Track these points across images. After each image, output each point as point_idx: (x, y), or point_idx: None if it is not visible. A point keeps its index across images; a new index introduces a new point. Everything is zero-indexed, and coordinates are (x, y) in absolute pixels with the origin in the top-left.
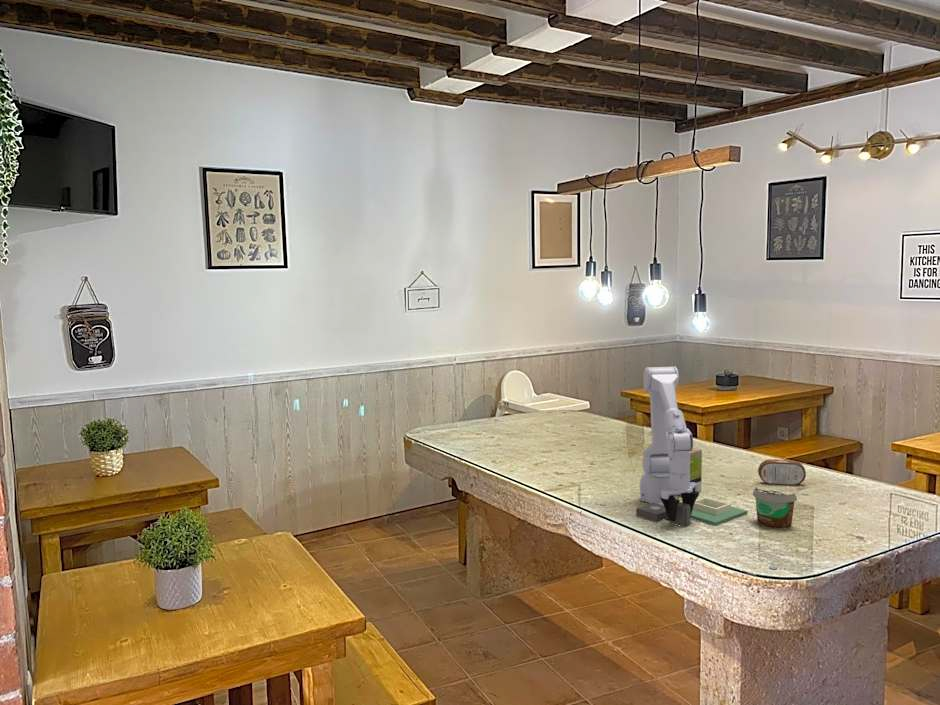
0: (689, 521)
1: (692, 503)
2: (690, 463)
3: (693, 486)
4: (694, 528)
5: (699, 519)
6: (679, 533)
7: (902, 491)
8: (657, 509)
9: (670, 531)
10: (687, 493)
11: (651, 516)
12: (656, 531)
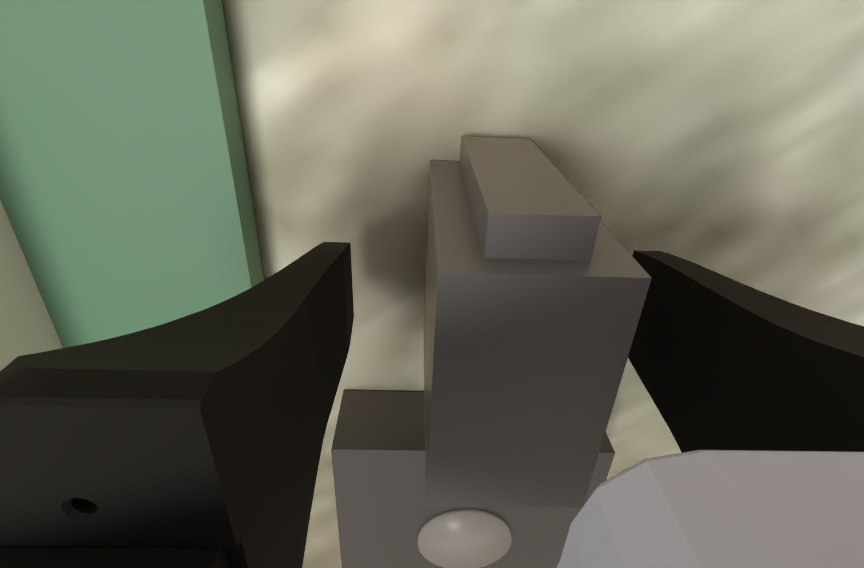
0: (486, 146)
1: (287, 305)
2: None
3: None
4: (512, 33)
5: (238, 158)
6: (795, 58)
7: None
8: (486, 513)
9: (774, 174)
10: (262, 548)
11: None
12: (839, 267)
